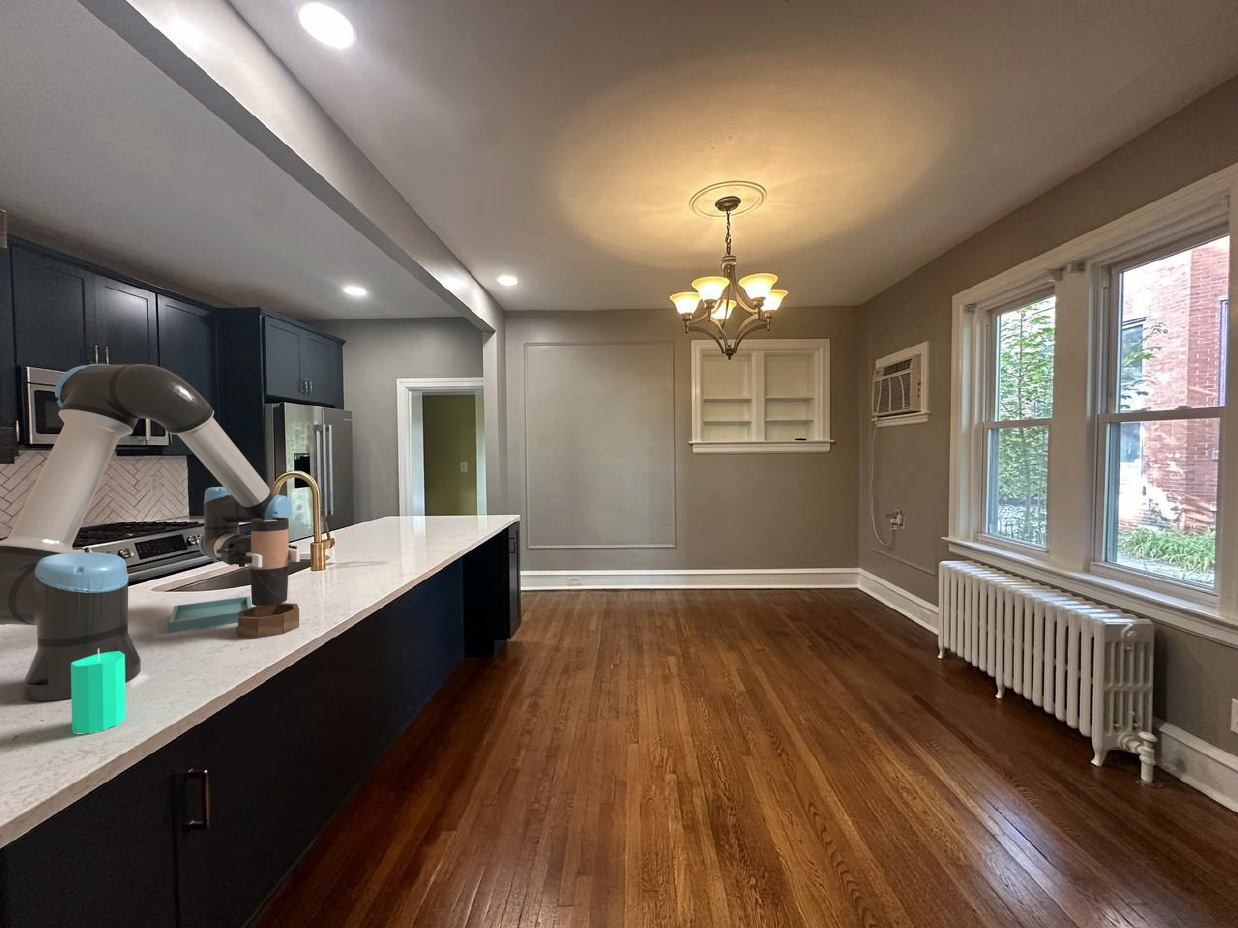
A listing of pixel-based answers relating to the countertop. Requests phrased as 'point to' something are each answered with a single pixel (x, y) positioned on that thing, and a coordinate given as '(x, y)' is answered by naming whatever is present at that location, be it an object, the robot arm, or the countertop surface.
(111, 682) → the candle
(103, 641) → the robot arm
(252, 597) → the travel mug
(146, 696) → the countertop surface
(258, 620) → the walnut collar
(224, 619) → the slate tray
